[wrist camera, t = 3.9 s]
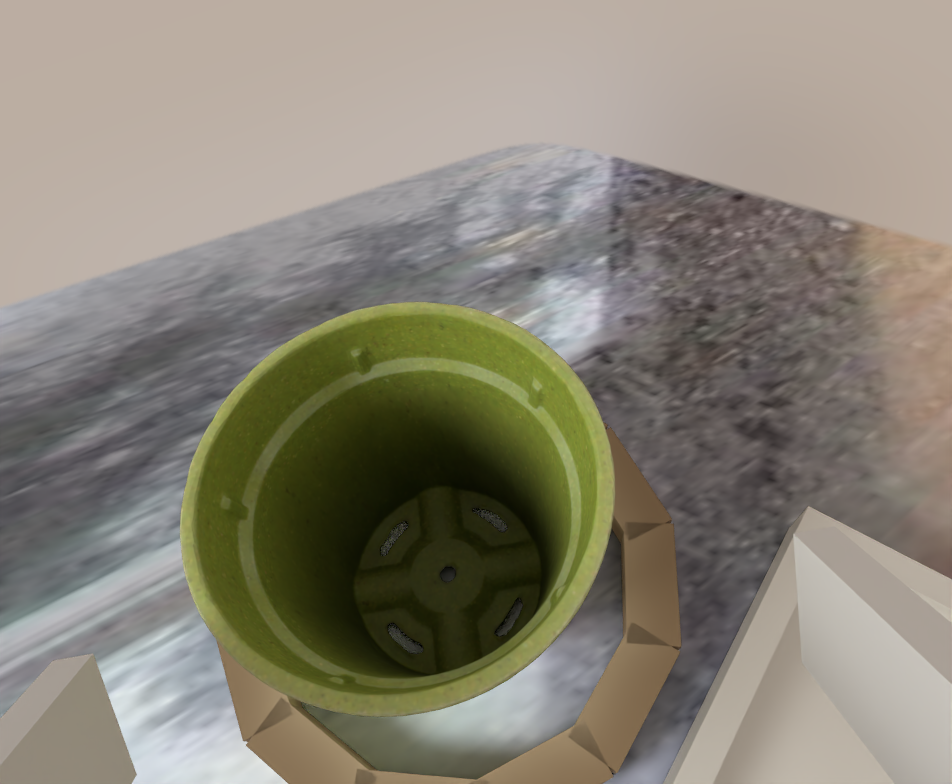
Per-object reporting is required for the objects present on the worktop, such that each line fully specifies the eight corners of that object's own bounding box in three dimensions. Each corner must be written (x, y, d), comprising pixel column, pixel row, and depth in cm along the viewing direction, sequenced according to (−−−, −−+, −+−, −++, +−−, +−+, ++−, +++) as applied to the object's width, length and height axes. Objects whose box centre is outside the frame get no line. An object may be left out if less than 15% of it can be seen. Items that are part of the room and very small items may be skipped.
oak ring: (146, 645, 22) (126, 638, 21) (407, 334, 27) (401, 316, 26) (512, 969, 17) (509, 981, 16) (748, 516, 22) (757, 503, 21)
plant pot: (491, 818, 19) (447, 835, 12) (246, 626, 22) (89, 544, 15) (649, 536, 22) (693, 408, 15) (416, 406, 26) (358, 248, 18)
